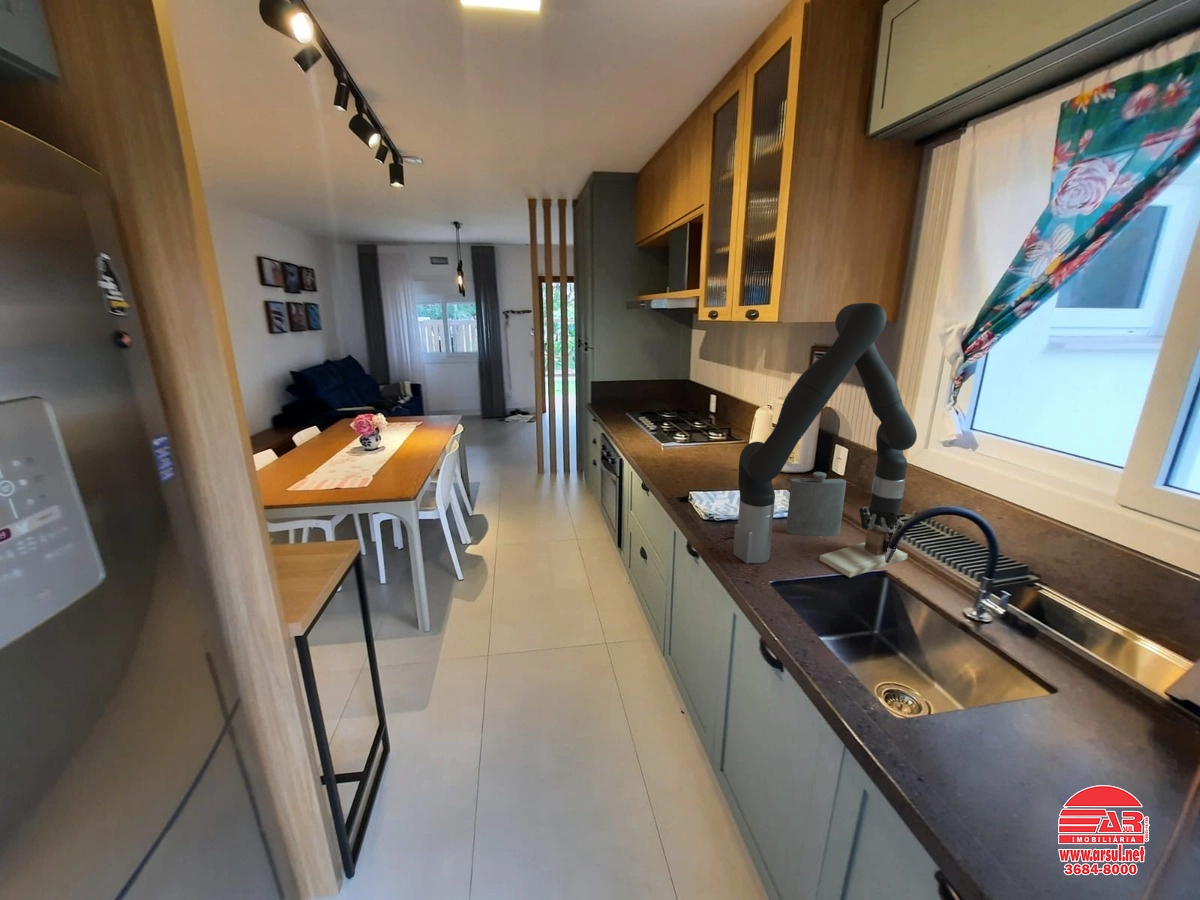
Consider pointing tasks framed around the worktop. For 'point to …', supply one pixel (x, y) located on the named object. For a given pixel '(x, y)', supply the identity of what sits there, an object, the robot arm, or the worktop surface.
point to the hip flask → (815, 506)
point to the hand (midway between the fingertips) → (878, 547)
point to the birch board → (858, 559)
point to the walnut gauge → (875, 540)
